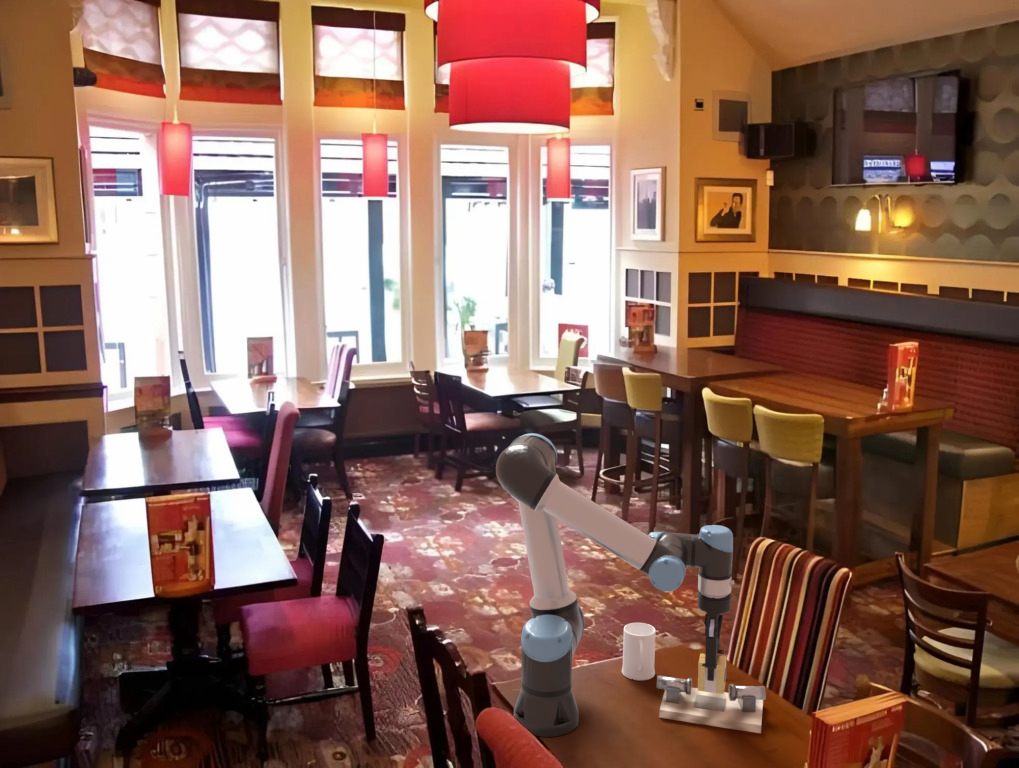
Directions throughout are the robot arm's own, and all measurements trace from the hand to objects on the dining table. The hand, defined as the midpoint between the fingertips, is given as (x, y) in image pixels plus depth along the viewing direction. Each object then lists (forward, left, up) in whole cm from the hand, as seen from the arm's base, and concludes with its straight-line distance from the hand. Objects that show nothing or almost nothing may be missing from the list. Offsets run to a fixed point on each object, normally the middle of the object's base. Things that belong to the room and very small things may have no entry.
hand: (711, 685), depth 218 cm
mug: (-19, +12, -7) cm, 24 cm away
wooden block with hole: (0, 0, 0) cm, 0 cm away
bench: (0, 0, -6) cm, 6 cm away
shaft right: (+8, +1, -4) cm, 9 cm away
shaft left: (-9, 0, -4) cm, 10 cm away
